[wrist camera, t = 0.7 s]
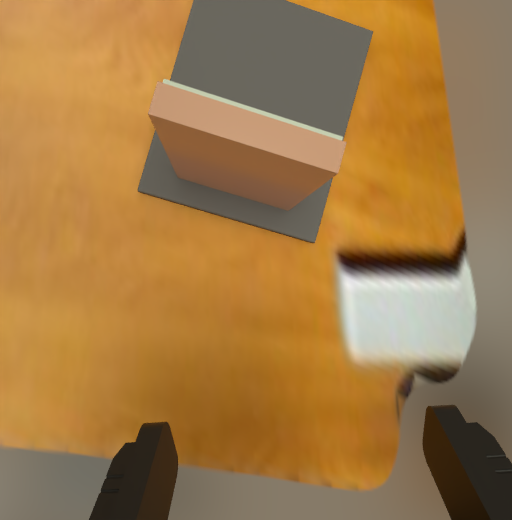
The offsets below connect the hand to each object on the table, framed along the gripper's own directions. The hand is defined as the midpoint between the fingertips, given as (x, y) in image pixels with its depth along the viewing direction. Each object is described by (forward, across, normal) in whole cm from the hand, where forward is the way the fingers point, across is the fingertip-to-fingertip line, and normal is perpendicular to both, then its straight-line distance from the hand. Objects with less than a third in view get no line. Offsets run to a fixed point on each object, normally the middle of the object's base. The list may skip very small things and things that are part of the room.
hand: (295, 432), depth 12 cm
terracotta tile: (+24, +3, -2) cm, 25 cm away
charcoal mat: (+28, +1, -8) cm, 29 cm away
